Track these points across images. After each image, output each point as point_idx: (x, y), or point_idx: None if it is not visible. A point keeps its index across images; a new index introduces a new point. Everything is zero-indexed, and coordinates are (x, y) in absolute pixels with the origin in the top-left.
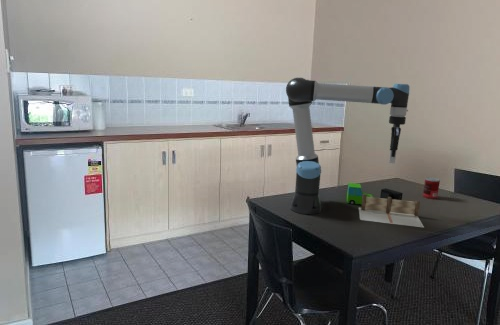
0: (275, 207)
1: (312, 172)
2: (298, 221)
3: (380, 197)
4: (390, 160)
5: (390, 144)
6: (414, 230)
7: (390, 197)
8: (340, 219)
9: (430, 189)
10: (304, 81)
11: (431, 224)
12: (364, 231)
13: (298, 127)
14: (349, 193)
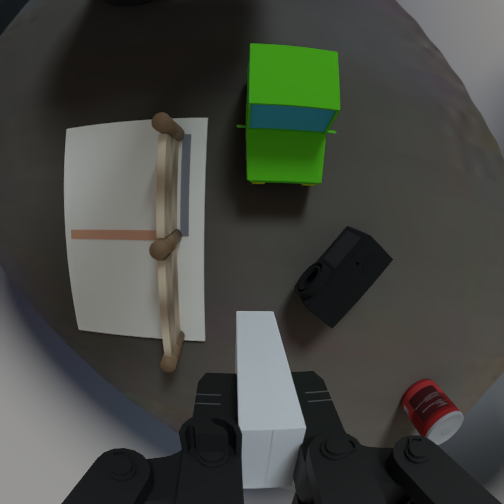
0: None
1: None
2: None
3: (353, 229)
4: (236, 337)
5: (454, 469)
6: (55, 296)
7: (156, 253)
8: (71, 70)
9: (417, 411)
10: None
11: (128, 360)
12: (5, 150)
13: None
14: (249, 63)
